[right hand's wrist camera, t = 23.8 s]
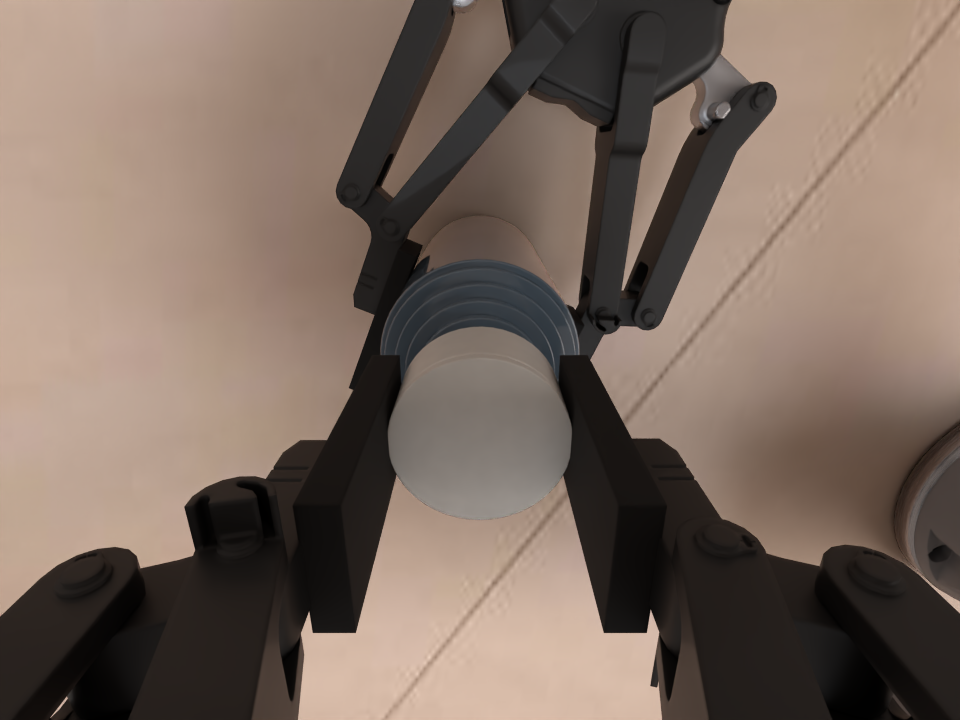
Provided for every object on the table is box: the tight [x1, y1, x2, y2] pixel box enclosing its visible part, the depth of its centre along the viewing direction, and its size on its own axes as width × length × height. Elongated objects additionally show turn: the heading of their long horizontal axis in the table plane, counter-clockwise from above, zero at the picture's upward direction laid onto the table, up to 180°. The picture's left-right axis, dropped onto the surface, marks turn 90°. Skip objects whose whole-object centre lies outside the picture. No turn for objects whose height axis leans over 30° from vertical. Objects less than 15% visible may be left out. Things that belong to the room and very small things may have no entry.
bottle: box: [381, 215, 579, 384], centre depth 21 cm, size 7×7×17 cm
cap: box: [388, 327, 572, 520], centre depth 14 cm, size 4×4×2 cm
